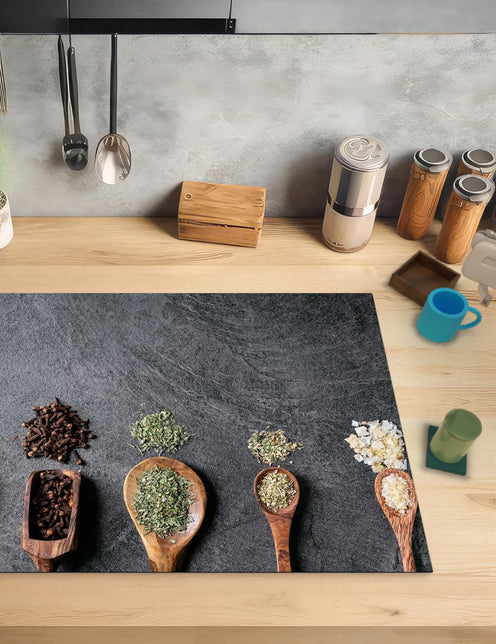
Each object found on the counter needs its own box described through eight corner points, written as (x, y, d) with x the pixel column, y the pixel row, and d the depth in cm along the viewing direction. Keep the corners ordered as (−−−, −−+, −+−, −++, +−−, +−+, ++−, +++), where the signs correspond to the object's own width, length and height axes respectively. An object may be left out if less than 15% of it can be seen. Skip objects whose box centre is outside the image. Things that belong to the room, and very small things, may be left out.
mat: (428, 427, 143) (429, 424, 142) (465, 435, 141) (467, 433, 141) (425, 467, 137) (427, 464, 137) (464, 476, 136) (466, 473, 135)
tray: (455, 285, 164) (461, 274, 161) (428, 311, 160) (433, 300, 157) (415, 260, 169) (419, 249, 166) (387, 284, 164) (391, 274, 162)
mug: (417, 340, 155) (429, 315, 149) (415, 310, 160) (426, 285, 153) (476, 347, 154) (490, 322, 147) (472, 317, 159) (486, 292, 152)
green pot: (471, 448, 138) (489, 424, 131) (452, 470, 136) (469, 446, 129) (441, 427, 141) (457, 402, 134) (422, 448, 139) (437, 423, 131)
